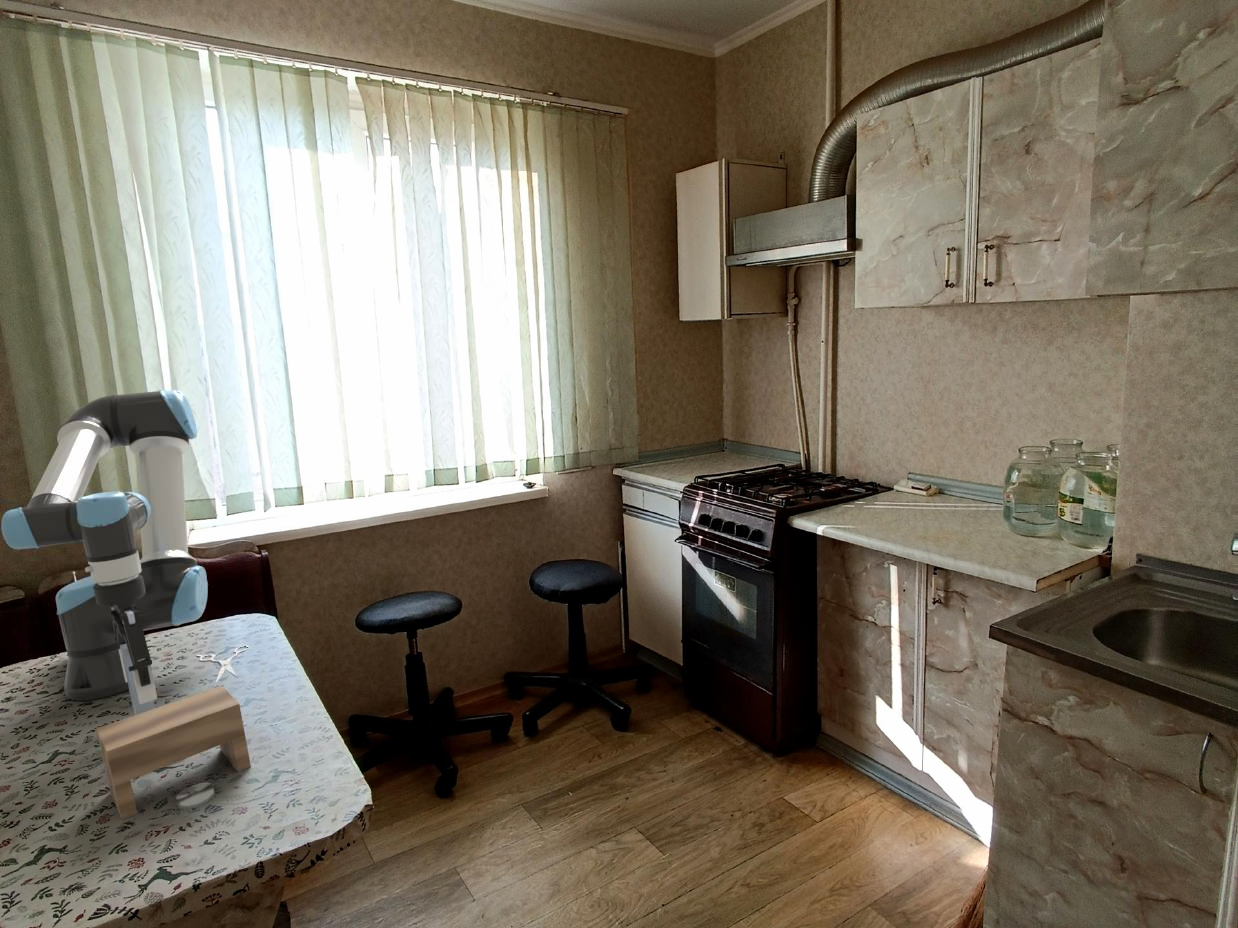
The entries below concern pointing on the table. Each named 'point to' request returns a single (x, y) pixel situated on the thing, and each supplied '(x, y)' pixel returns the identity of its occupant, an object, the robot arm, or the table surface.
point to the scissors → (222, 662)
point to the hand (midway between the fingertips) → (140, 689)
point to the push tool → (131, 684)
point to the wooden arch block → (170, 740)
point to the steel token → (195, 796)
